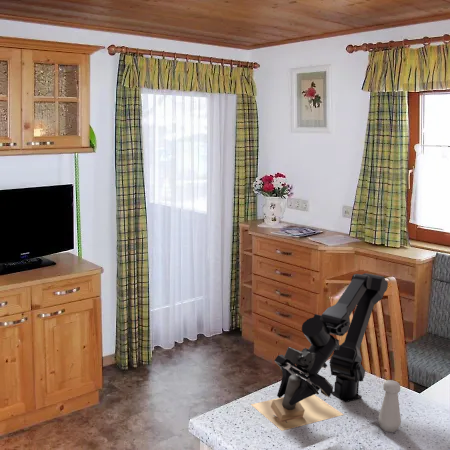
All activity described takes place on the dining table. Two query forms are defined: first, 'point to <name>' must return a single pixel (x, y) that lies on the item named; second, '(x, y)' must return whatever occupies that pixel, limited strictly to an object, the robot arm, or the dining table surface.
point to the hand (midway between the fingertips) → (284, 400)
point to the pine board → (312, 413)
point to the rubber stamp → (282, 405)
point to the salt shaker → (390, 407)
